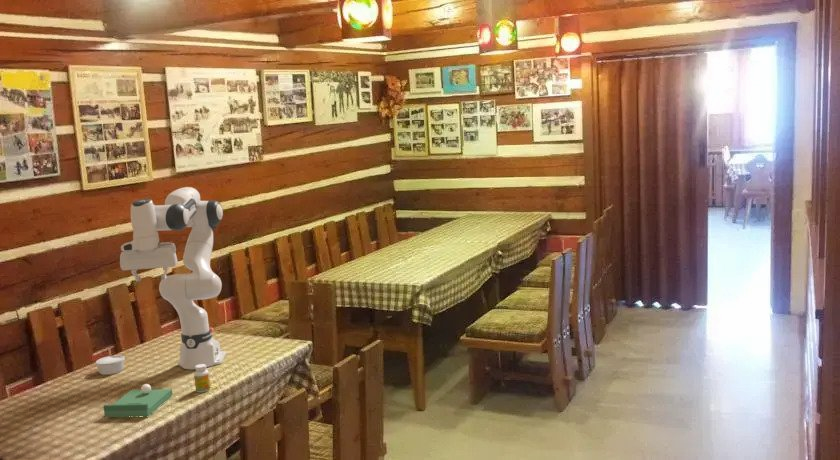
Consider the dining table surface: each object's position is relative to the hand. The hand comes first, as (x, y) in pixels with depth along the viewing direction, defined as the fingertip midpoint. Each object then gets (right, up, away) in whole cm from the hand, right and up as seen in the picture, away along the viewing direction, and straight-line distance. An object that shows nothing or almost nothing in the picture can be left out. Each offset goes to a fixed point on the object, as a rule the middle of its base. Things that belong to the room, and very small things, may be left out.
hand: (151, 279), depth 284 cm
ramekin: (-29, -41, +36) cm, 62 cm away
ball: (-2, -40, -1) cm, 40 cm away
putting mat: (-2, -46, -6) cm, 46 cm away
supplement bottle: (+18, -43, +6) cm, 46 cm away
